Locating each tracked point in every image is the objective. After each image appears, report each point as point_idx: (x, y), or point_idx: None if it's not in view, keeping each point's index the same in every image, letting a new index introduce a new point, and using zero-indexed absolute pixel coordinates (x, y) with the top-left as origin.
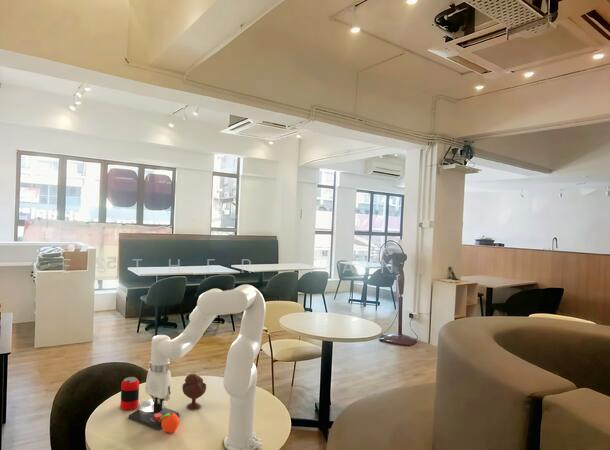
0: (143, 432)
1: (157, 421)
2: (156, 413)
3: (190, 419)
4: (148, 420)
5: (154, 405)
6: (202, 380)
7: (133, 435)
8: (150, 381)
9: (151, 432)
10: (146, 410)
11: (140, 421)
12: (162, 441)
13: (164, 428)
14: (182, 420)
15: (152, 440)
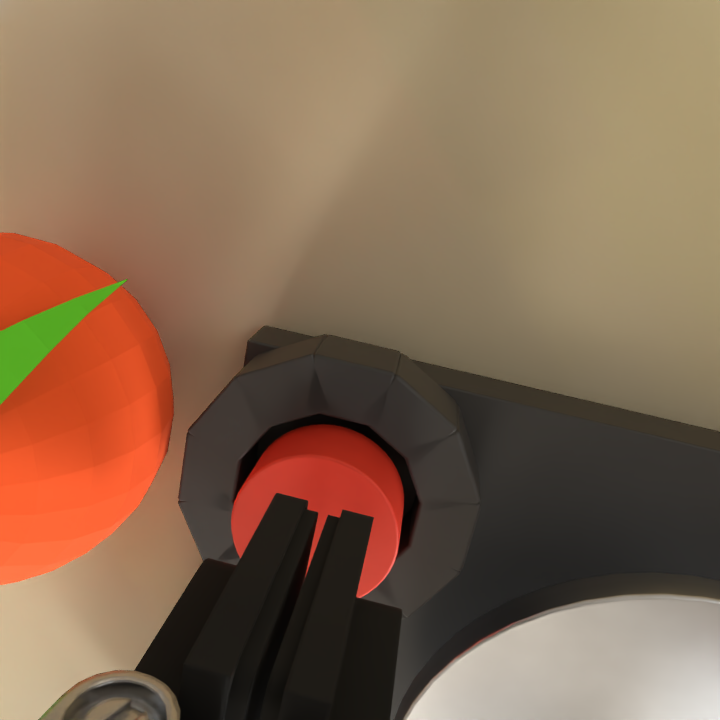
0: (467, 177)
1: (266, 392)
2: (377, 578)
3: (6, 694)
4: (519, 460)
5: (321, 634)
6: None
7: (602, 14)
8: None
9: (335, 228)
10: (663, 646)
11: (672, 428)
12: (28, 55)
13: (32, 238)
14: (85, 650)
15: (190, 11)
